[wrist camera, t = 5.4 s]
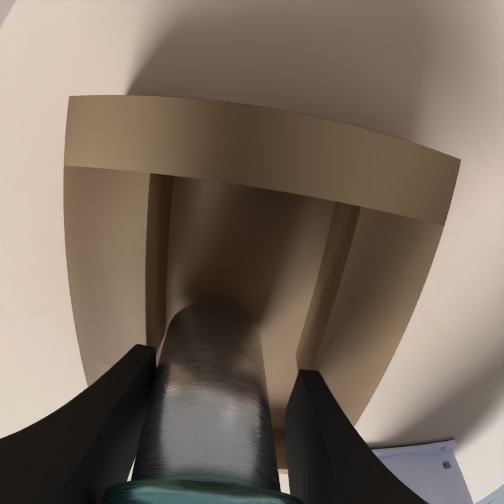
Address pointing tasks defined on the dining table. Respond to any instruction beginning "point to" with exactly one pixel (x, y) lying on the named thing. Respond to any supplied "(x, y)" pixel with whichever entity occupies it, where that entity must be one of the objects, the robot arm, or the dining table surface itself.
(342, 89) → the dining table surface
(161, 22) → the dining table surface
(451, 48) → the dining table surface
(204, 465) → the peg
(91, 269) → the keyhole board
